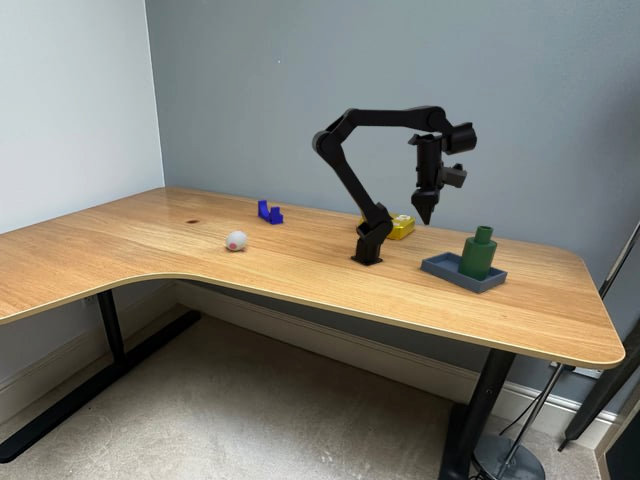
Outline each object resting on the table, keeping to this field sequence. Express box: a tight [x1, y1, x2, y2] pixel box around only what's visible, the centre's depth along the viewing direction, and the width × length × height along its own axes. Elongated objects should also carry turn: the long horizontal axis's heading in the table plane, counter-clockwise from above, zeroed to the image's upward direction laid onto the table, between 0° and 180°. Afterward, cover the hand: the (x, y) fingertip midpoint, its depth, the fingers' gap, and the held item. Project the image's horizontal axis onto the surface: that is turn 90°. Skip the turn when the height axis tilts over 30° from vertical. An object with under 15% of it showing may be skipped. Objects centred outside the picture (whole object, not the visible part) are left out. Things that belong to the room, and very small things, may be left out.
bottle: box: [457, 225, 498, 282], centre depth 92 cm, size 7×7×13 cm
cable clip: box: [257, 199, 284, 226], centre depth 139 cm, size 12×4×6 cm, turn 25°
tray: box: [419, 251, 509, 294], centre depth 96 cm, size 11×16×3 cm
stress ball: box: [225, 230, 248, 253], centre depth 113 cm, size 8×8×7 cm
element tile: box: [358, 211, 416, 241], centre depth 128 cm, size 15×15×5 cm
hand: (429, 218), depth 101 cm, fingers open, 9 cm apart
